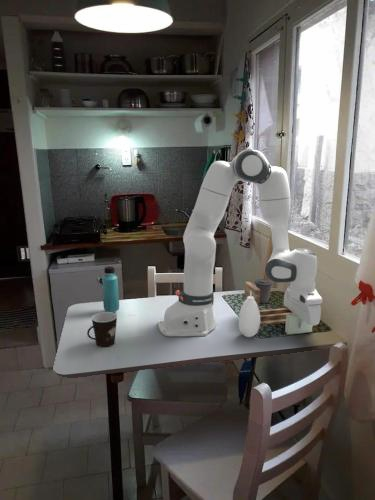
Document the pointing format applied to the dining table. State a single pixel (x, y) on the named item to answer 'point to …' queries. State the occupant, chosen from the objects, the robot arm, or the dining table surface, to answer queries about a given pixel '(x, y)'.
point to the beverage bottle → (110, 290)
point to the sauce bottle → (249, 317)
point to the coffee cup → (264, 289)
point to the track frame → (266, 315)
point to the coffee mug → (104, 328)
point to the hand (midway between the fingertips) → (298, 326)
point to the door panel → (295, 325)
